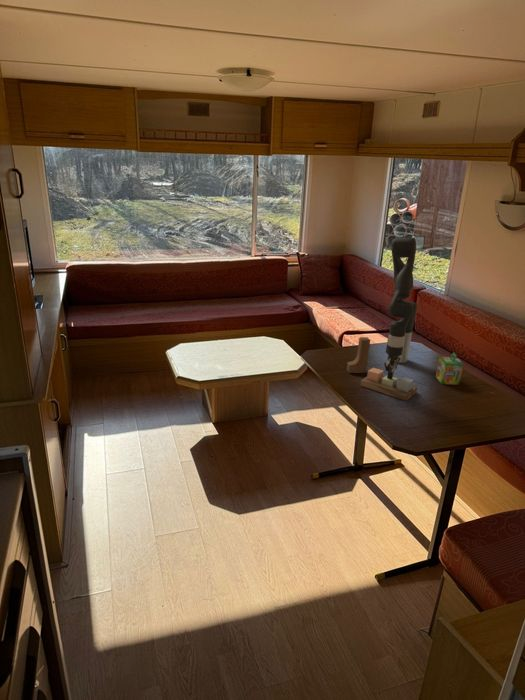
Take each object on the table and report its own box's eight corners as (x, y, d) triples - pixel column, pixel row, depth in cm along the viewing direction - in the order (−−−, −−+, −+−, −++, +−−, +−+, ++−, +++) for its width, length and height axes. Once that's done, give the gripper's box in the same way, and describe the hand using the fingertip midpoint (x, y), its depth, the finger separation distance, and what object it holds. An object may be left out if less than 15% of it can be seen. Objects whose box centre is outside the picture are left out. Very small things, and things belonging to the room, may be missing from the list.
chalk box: (434, 377, 253) (440, 350, 248) (452, 377, 254) (458, 350, 248) (441, 384, 245) (447, 356, 239) (459, 385, 245) (465, 357, 240)
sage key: (385, 384, 239) (387, 375, 237) (396, 388, 236) (397, 378, 234) (380, 388, 235) (382, 378, 233) (391, 391, 232) (392, 381, 230)
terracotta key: (371, 376, 243) (373, 367, 241) (382, 380, 240) (383, 370, 238) (366, 380, 239) (368, 370, 237) (377, 383, 236) (378, 373, 234)
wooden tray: (372, 378, 247) (372, 372, 246) (416, 392, 234) (417, 386, 233) (360, 385, 238) (361, 379, 237) (406, 400, 225) (407, 394, 224)
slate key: (400, 386, 234) (402, 376, 233) (411, 389, 231) (413, 379, 230) (395, 389, 230) (397, 379, 229) (407, 393, 227) (408, 383, 225)
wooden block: (348, 373, 251) (353, 339, 245) (346, 369, 255) (350, 336, 249) (365, 373, 252) (370, 340, 246) (363, 369, 257) (367, 337, 250)
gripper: (393, 338, 235) (388, 372, 241) (381, 345, 225) (376, 380, 231) (408, 342, 231) (402, 376, 237) (396, 349, 221) (391, 385, 227)
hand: (389, 378), depth 234 cm, fingers closed
